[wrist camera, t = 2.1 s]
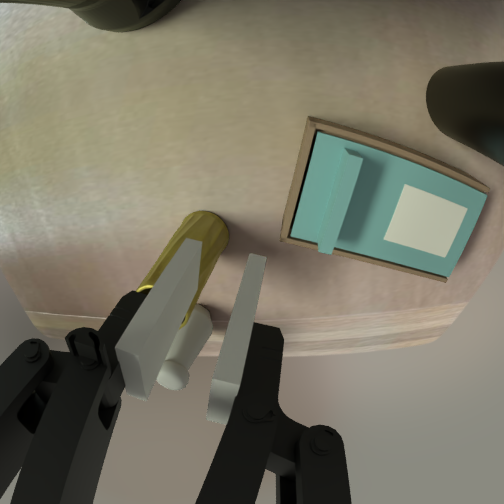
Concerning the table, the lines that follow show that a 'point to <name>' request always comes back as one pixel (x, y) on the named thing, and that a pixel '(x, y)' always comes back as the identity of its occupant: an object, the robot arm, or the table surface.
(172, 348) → the salt shaker
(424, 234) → the lid
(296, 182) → the wooden sliding-lid box
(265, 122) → the table surface
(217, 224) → the vase
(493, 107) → the water bottle
